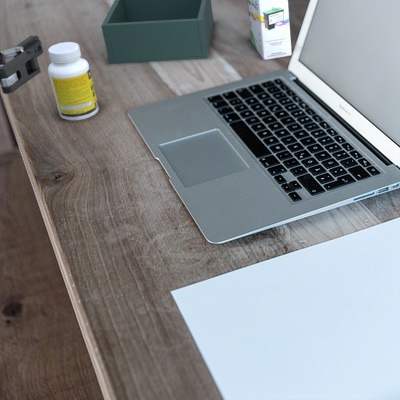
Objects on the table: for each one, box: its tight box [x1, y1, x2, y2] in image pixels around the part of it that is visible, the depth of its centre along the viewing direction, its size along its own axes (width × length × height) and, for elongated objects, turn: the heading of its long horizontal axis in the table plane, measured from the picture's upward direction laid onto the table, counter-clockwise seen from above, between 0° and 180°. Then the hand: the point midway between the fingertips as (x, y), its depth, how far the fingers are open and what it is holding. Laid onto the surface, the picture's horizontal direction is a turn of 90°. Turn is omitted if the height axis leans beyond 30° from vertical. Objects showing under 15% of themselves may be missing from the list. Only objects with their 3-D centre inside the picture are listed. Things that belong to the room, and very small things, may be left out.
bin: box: [101, 0, 215, 65], centre depth 118 cm, size 16×16×7 cm
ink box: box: [246, 0, 293, 60], centre depth 113 cm, size 8×5×12 cm, turn 19°
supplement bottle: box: [47, 41, 99, 122], centre depth 98 cm, size 5×5×10 cm
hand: (4, 41), depth 83 cm, fingers open, 8 cm apart
